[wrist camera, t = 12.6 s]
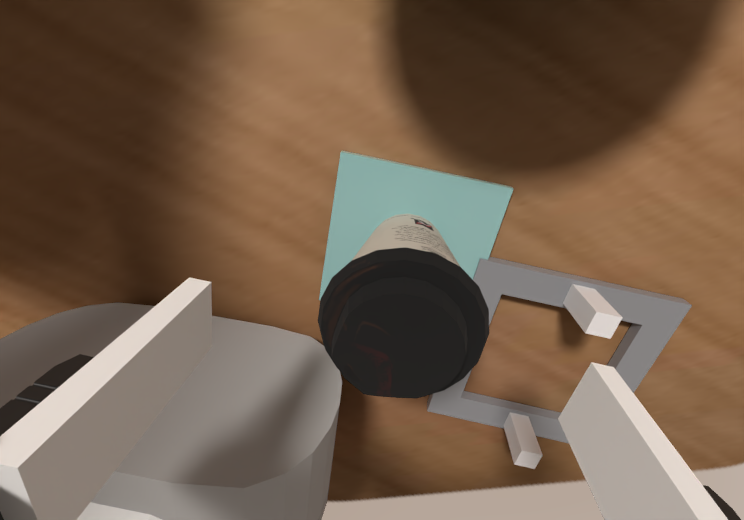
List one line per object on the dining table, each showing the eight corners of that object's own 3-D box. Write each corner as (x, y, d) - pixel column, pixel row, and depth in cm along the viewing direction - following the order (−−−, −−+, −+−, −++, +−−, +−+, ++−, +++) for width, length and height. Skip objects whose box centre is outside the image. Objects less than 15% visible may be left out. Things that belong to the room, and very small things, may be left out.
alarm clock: (110, 382, 31) (-87, 565, 19) (89, 287, 27) (-177, 440, 15) (343, 426, 30) (295, 647, 18) (356, 334, 26) (306, 538, 14)
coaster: (342, 150, 21) (340, 151, 20) (511, 186, 21) (513, 188, 20) (320, 295, 25) (318, 299, 24) (460, 326, 25) (462, 331, 24)
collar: (478, 254, 23) (490, 283, 19) (682, 298, 22) (735, 337, 19) (426, 402, 28) (428, 447, 24) (591, 440, 28) (617, 491, 24)
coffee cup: (423, 170, 20) (431, 225, 11) (484, 264, 22) (533, 377, 13) (329, 233, 22) (270, 322, 13) (391, 314, 24) (377, 441, 15)
